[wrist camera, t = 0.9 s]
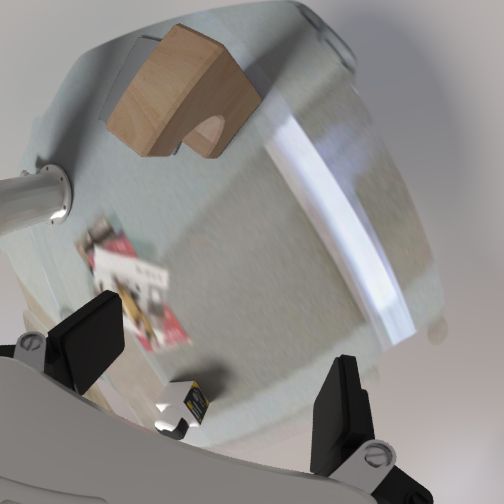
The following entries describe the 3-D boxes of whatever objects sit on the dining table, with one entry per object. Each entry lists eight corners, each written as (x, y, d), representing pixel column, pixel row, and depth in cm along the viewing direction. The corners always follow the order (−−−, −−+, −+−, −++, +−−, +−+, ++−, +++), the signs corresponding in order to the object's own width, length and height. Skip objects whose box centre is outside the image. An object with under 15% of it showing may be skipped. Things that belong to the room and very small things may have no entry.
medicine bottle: (210, 403, 54) (192, 444, 43) (183, 404, 56) (163, 443, 45) (195, 379, 52) (173, 421, 41) (167, 382, 54) (143, 420, 43)
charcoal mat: (100, 118, 40) (98, 118, 39) (140, 37, 34) (139, 36, 34) (175, 154, 40) (173, 154, 39) (224, 62, 34) (223, 60, 34)
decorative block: (216, 160, 39) (141, 160, 20) (187, 138, 39) (100, 125, 20) (264, 100, 35) (227, 45, 17) (233, 79, 35) (175, 19, 16)
